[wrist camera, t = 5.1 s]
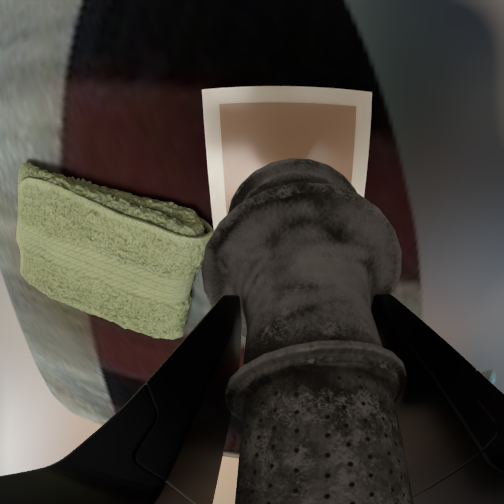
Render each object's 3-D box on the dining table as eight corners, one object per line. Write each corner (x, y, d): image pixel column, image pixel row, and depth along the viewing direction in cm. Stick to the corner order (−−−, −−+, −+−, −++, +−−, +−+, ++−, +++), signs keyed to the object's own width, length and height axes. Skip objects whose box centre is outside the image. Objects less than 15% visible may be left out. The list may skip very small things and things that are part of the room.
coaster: (368, 91, 16) (372, 92, 15) (355, 233, 21) (358, 239, 20) (204, 89, 16) (201, 89, 16) (215, 233, 22) (214, 238, 21)
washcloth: (26, 153, 19) (2, 166, 16) (222, 211, 21) (215, 233, 18) (33, 272, 26) (17, 291, 23) (185, 330, 28) (178, 356, 25)
